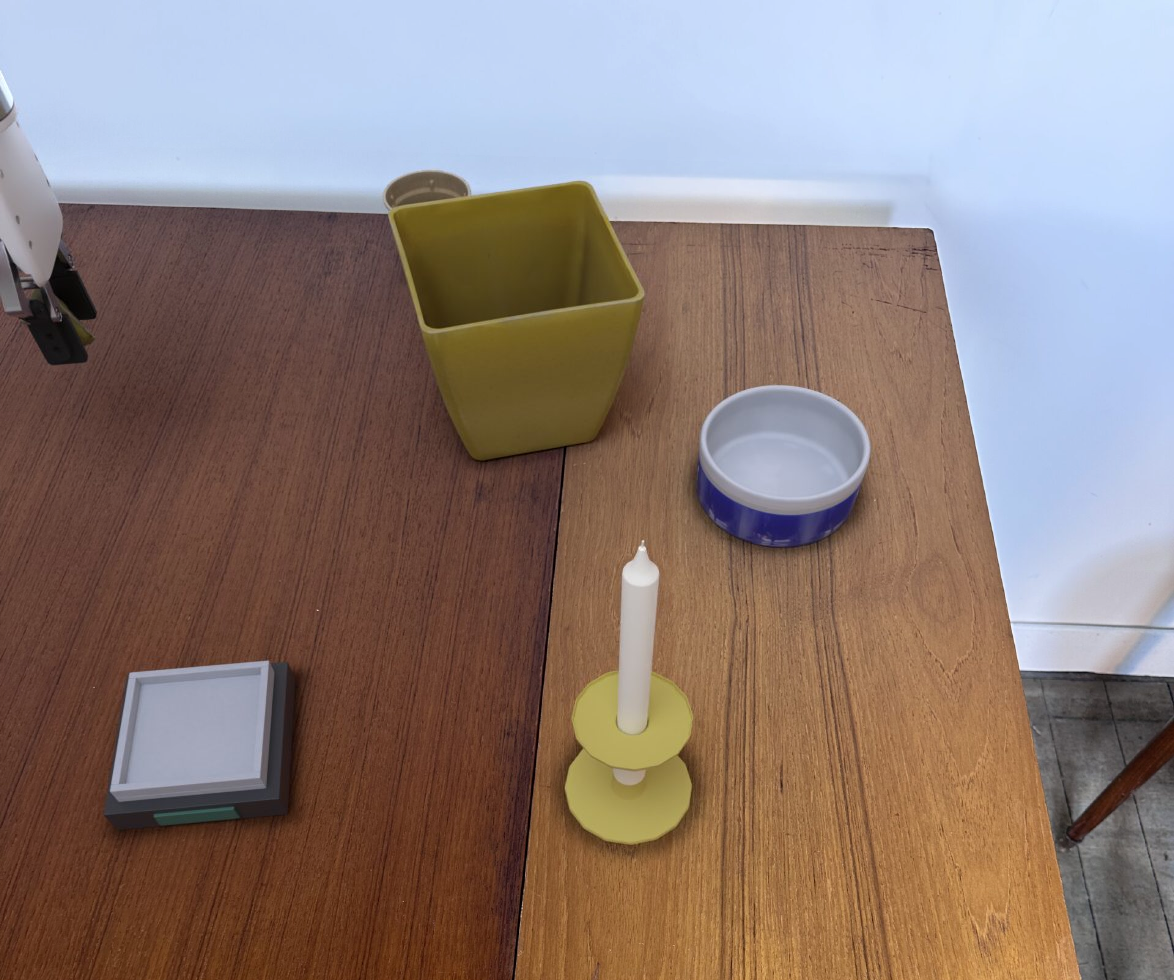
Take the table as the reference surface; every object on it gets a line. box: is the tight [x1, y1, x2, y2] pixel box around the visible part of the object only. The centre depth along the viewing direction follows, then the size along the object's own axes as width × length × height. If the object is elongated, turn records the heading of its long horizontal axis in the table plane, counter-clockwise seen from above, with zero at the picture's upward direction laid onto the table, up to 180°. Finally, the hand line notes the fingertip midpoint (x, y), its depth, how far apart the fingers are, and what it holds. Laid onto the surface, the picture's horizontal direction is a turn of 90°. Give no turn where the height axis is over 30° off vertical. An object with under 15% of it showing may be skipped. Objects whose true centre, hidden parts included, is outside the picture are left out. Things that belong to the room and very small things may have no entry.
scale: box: [103, 660, 296, 831], centre depth 76 cm, size 13×13×4 cm
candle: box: [564, 539, 694, 846], centre depth 65 cm, size 10×10×27 cm
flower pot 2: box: [387, 180, 645, 461], centre depth 91 cm, size 19×19×17 cm
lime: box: [29, 289, 97, 347], centre depth 79 cm, size 4×5×5 cm
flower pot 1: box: [382, 169, 472, 212], centre depth 107 cm, size 9×9×9 cm
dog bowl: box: [696, 384, 871, 548], centre depth 90 cm, size 15×15×6 cm
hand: (73, 337), depth 81 cm, fingers closed on lime, 5 cm apart
